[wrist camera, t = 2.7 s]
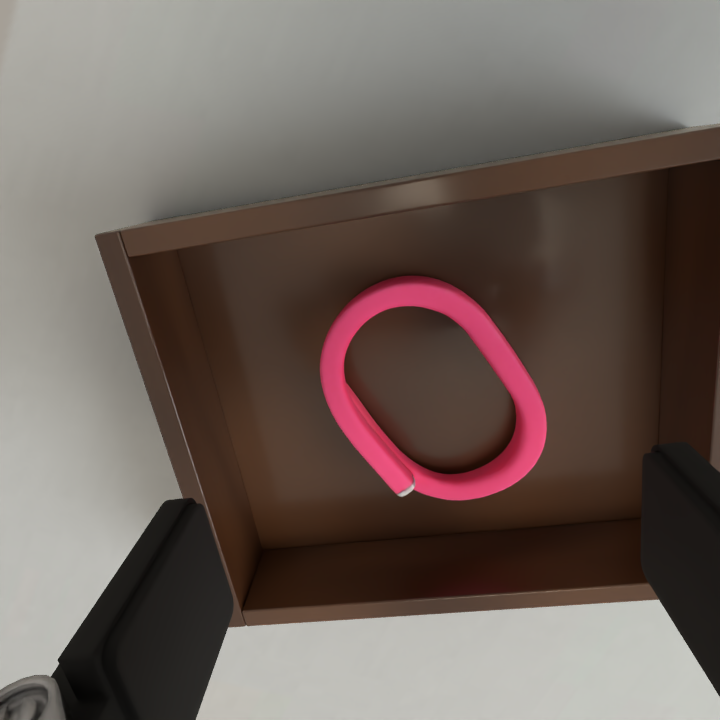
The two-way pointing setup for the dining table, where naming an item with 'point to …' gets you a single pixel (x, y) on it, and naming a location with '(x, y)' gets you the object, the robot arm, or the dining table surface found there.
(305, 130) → the dining table surface
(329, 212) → the walnut tray
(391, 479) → the fitness band
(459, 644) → the dining table surface
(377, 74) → the dining table surface
